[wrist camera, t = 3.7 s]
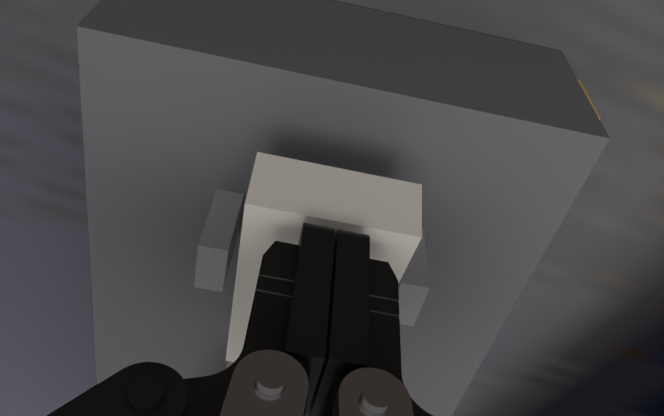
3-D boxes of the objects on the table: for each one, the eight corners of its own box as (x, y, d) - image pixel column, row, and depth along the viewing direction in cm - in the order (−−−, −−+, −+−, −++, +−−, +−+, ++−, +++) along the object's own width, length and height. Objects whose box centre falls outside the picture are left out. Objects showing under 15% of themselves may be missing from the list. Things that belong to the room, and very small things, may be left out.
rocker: (256, 152, 15) (244, 203, 14) (421, 184, 15) (421, 237, 14) (235, 316, 21) (225, 360, 20) (352, 337, 21) (348, 381, 20)
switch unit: (141, -43, 20) (33, 71, 13) (570, 53, 21) (653, 197, 15) (136, 452, 38) (89, 596, 32) (363, 487, 39) (361, 634, 33)
